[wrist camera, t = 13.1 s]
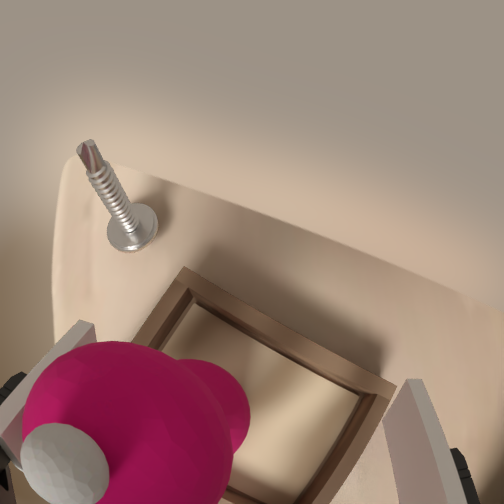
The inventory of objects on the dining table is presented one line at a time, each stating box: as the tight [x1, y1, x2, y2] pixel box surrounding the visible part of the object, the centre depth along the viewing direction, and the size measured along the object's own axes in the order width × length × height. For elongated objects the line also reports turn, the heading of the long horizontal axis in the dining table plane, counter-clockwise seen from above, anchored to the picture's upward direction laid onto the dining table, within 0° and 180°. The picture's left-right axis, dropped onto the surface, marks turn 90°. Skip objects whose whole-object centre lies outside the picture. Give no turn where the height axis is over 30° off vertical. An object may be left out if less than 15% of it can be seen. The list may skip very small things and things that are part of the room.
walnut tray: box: [131, 266, 397, 504], centre depth 21 cm, size 18×14×4 cm
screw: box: [76, 139, 158, 253], centre depth 22 cm, size 13×5×5 cm
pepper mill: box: [20, 341, 251, 504], centre depth 12 cm, size 7×7×20 cm
